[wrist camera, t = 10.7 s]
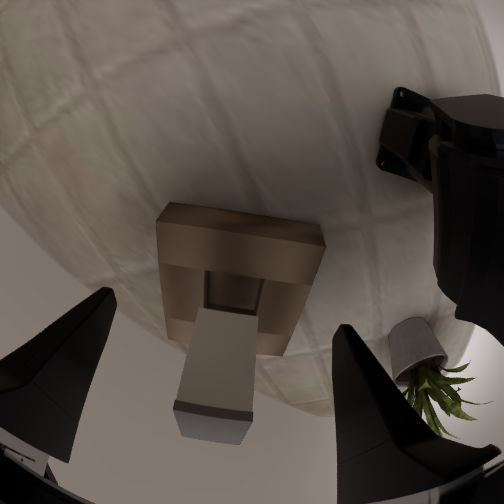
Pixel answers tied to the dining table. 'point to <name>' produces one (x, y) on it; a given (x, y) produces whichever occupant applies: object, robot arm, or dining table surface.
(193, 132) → the dining table surface
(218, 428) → the plug
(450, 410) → the house plant
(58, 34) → the dining table surface
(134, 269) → the dining table surface
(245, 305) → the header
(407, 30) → the dining table surface
